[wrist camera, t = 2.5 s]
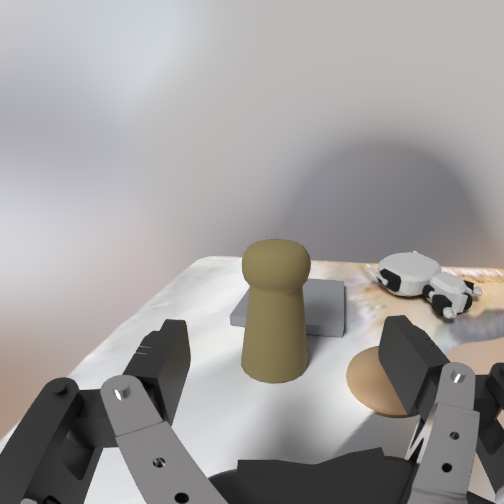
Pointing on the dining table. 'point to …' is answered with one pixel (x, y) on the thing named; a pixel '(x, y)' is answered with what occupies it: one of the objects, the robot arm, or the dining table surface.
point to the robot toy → (425, 282)
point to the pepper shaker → (275, 311)
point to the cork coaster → (374, 385)
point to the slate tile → (311, 308)
